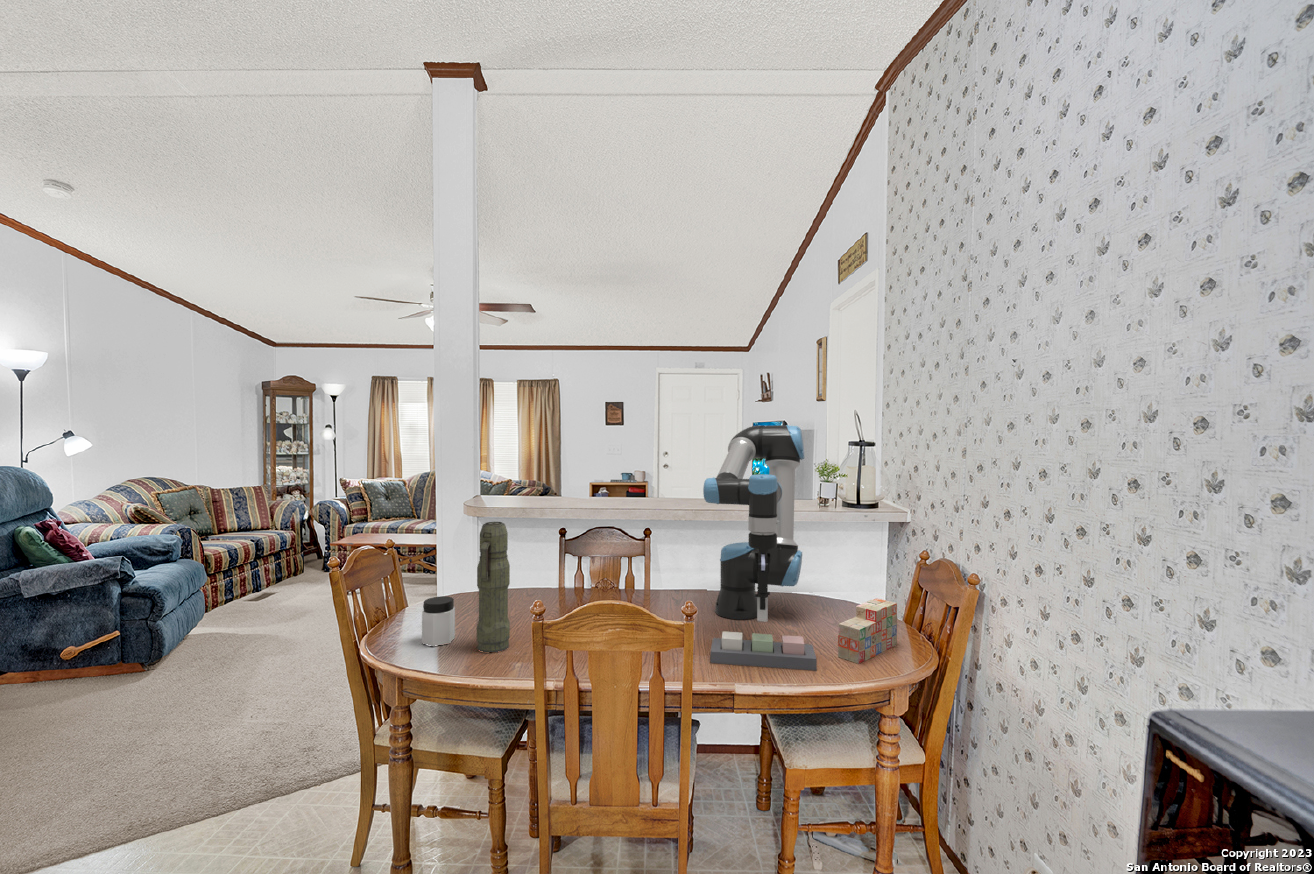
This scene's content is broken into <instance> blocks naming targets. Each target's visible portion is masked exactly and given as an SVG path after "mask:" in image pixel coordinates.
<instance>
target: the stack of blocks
mask: <svg viewBox="0 0 1314 874" xmlns="http://www.w3.org/2000/svg"><path fill="white" fill-rule="evenodd" d="M897 613H898V603H897V602H894V601H891V600H885V599H882V598H881V599H880V598H874V599H870V600H867V601H865V602H862V603H861V604H858V605H856V606H855V616H854V617H852V618H850V619H847V620H844V621H843V622H840V623H838V636H837V639H838V641H837V646H838V647H837V652H838V654H837V657H838V658H840V659H843V660H846V661H849V662H852V663H855V664H861V663H863V662H865V661H868V660H870V659H871V658H874V657H876V656H877V655H879V654H881V653H883V652H885V651H887V650H889V649H891V648H894V647H895V646H897V645H898V644H897V642H898V640H897V639H898V634H897V631H898V629H897V626H898V614H897ZM884 650H885V651H884Z"/></svg>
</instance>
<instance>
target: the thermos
mask: <svg viewBox="0 0 1314 874" xmlns="http://www.w3.org/2000/svg"><path fill="white" fill-rule="evenodd" d="M506 527H507V526H506V523H503V522H501V521H487V522H485V523H483V524H482V526H481V530H480V532H479V561H478V564H477V566H476V567H477V568H476V573H477V574H476V577H477V578H476V586H477V589H478V622H477V624H476V642H477V646H476V650H477V649H478V650H480V651H483V652H497V653H499V652H498V651H501V652H503V651H502V650H504V651H505V650H508V649H507V648H509V647H510V637H511V636H510V635H511V634H510V633H511V632H510V629H511V628H510V627H511V626H510V619H509V616H508V615H509V610H508V609H509V599H508V598H509V591H508V590H509V586H510V584H511V582H510V581H511V580H510V576H511V575H510V571H511V570H510V567H511V566H510V565H511V564H510V561H509V557H508V553H507V552H508V539H509V538H508V530H507V528H506ZM478 650H477V651H478Z"/></svg>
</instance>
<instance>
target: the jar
mask: <svg viewBox="0 0 1314 874" xmlns="http://www.w3.org/2000/svg"><path fill="white" fill-rule="evenodd" d="M454 600H455V599H454V598H453V597H452V596H446V595H445V596H443V595H441V596H433V597H429V598H427V599H425V600H424V601H423V607H422V608H423V610H422V612H421V644H422V643H424V644H428V645H431V646H435V645H441V644H445V643H450V644H451V643H452V642H453V641H454V640H453V639H454V638H456V606H454V604H455V603H454ZM452 640H453V641H452ZM451 641H452V642H451Z"/></svg>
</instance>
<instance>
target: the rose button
mask: <svg viewBox="0 0 1314 874" xmlns="http://www.w3.org/2000/svg"><path fill="white" fill-rule="evenodd" d="M804 640H805V639H804V637H803V636H801V635H788V634H787V635H785V634H782V635H781V642H782V654H796V655H804V644H805V641H804Z"/></svg>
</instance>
